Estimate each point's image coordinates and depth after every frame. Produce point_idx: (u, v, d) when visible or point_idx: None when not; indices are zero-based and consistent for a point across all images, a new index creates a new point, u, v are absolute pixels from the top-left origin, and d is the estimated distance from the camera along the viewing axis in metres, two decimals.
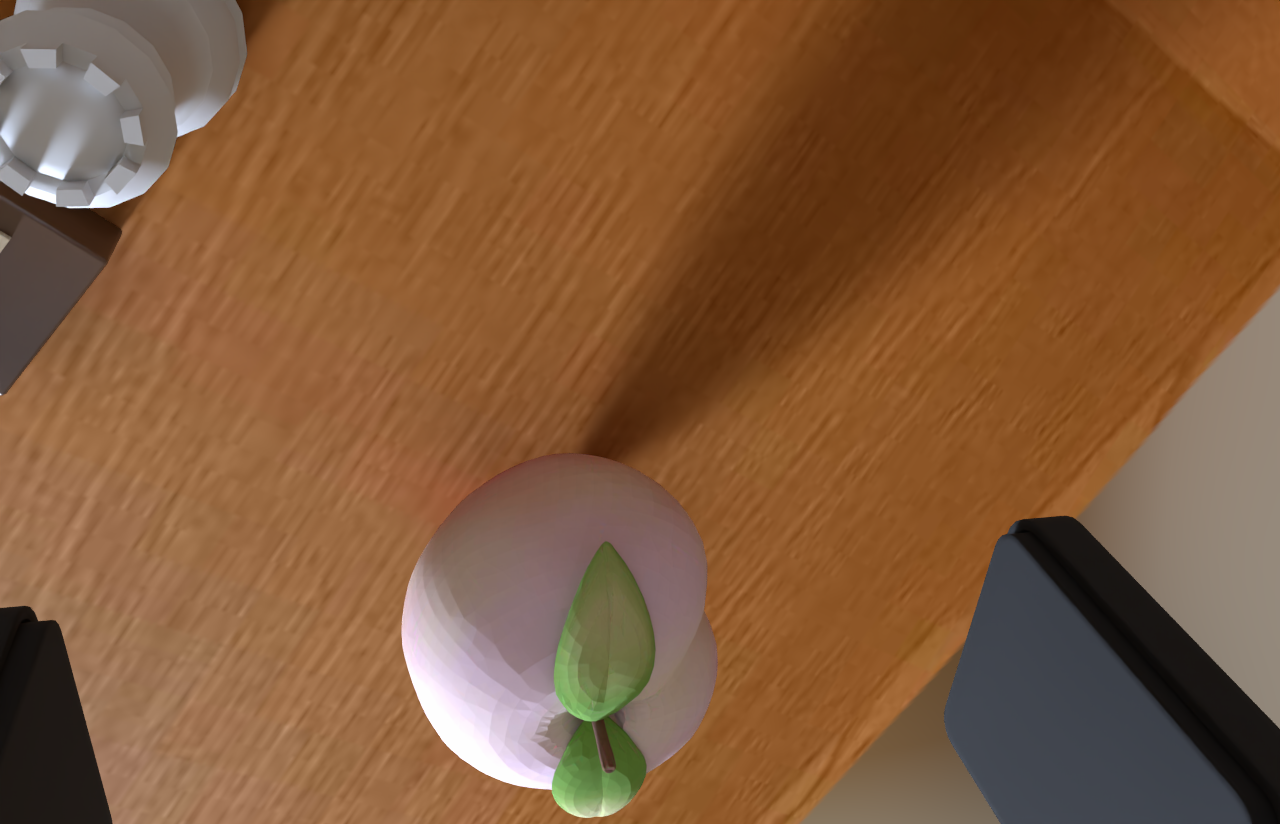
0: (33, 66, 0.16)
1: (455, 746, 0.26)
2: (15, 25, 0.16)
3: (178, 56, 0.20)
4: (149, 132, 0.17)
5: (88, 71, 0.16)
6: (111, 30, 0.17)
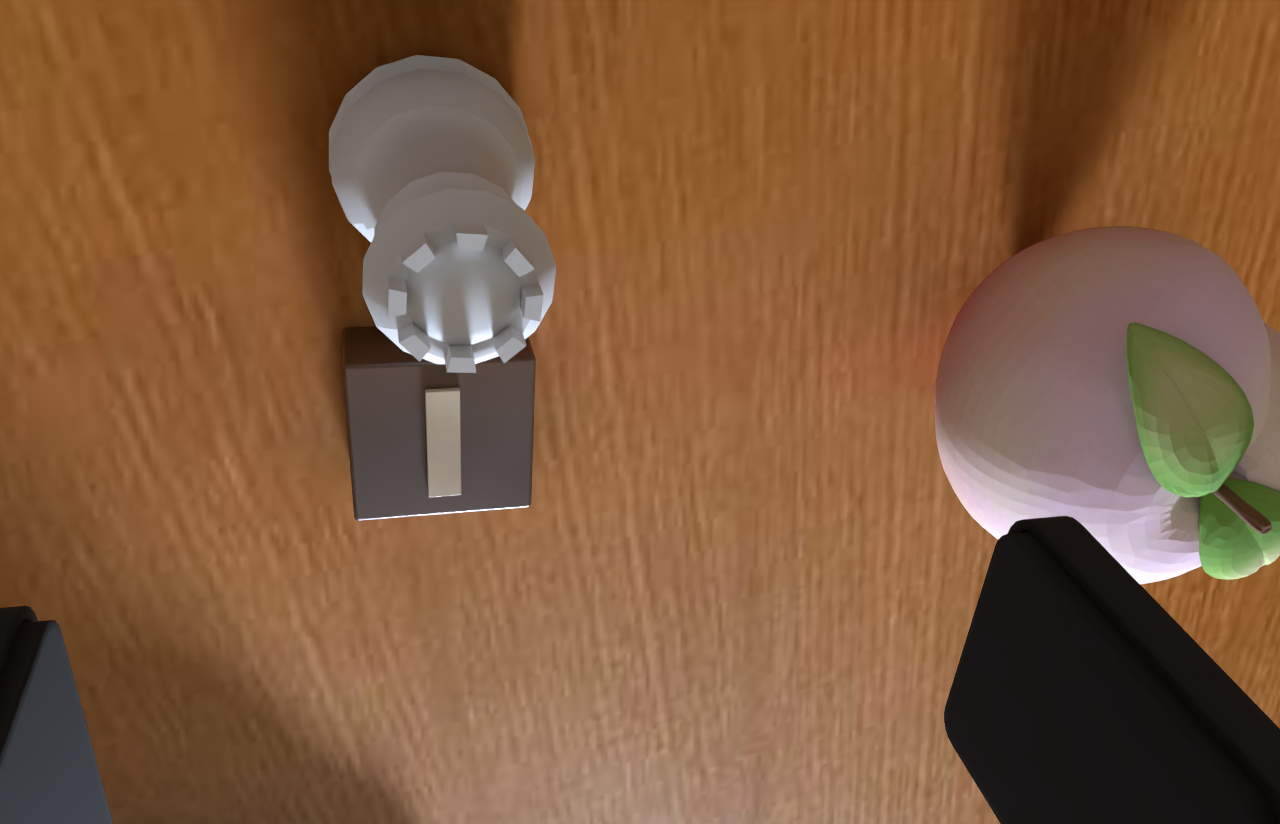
0: (418, 268, 0.17)
1: None
2: (381, 243, 0.17)
3: (487, 161, 0.20)
4: (528, 253, 0.17)
5: (458, 241, 0.16)
6: (447, 192, 0.17)
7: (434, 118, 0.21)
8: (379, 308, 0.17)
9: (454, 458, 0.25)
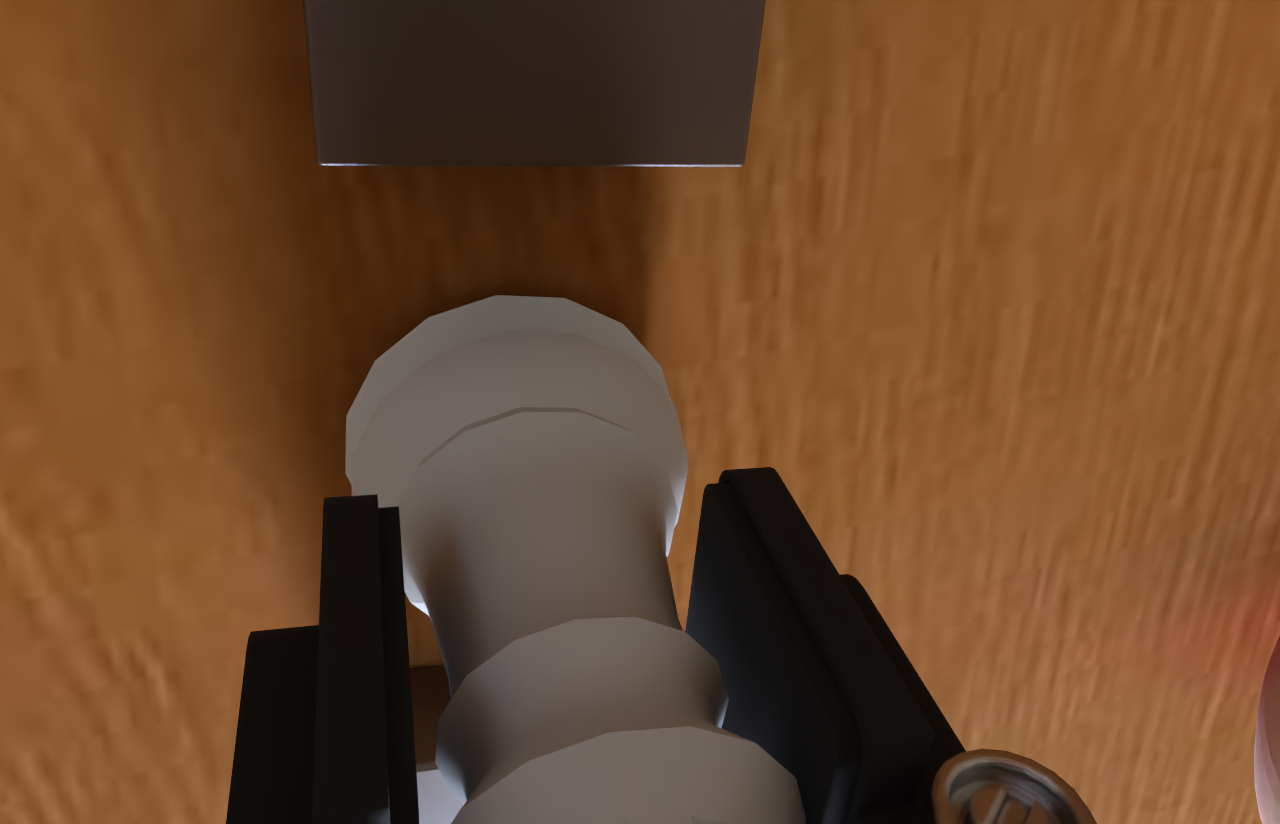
0: None
1: None
2: None
3: (636, 527, 0.11)
4: None
5: None
6: (608, 743, 0.08)
7: (535, 436, 0.12)
8: None
9: None
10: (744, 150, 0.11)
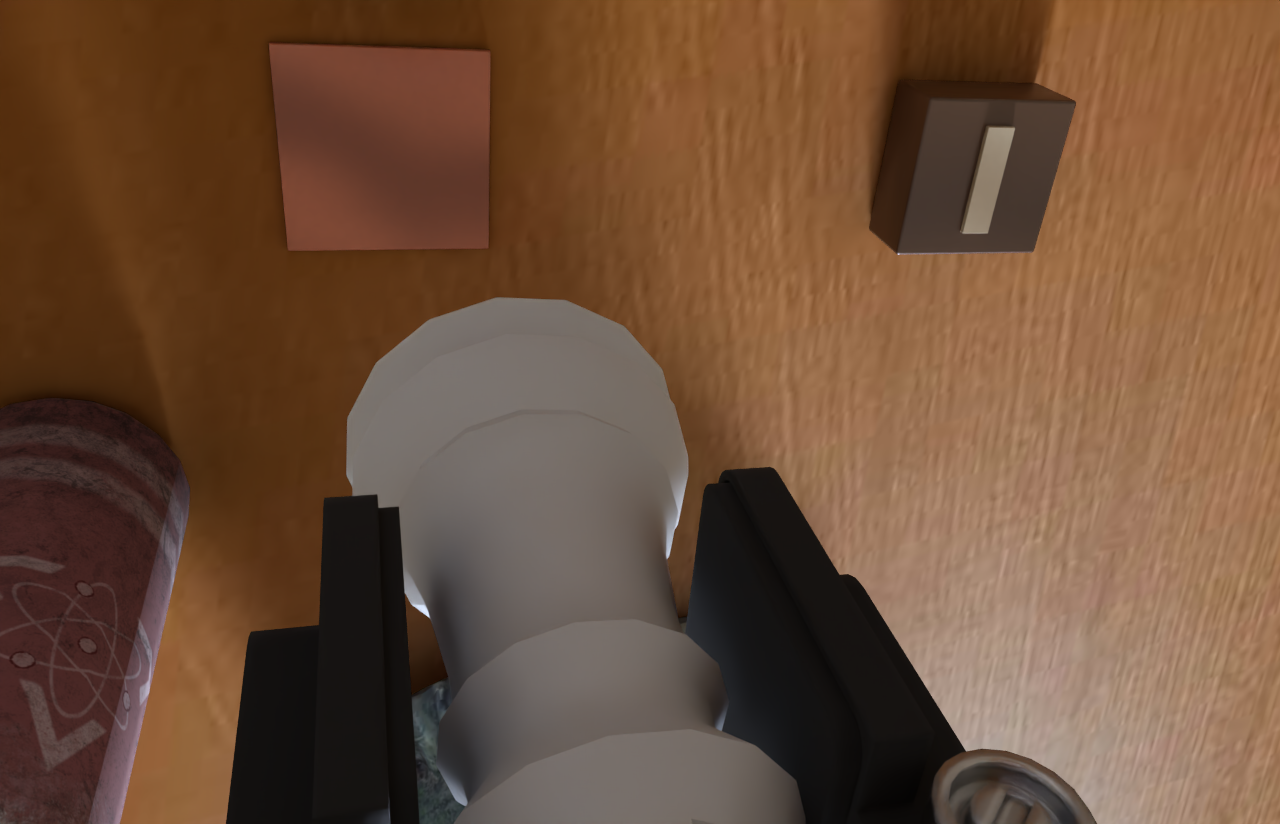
0: None
1: None
2: None
3: (637, 529, 0.11)
4: None
5: None
6: (609, 746, 0.08)
7: (536, 438, 0.12)
8: None
9: (993, 195, 0.29)
10: None
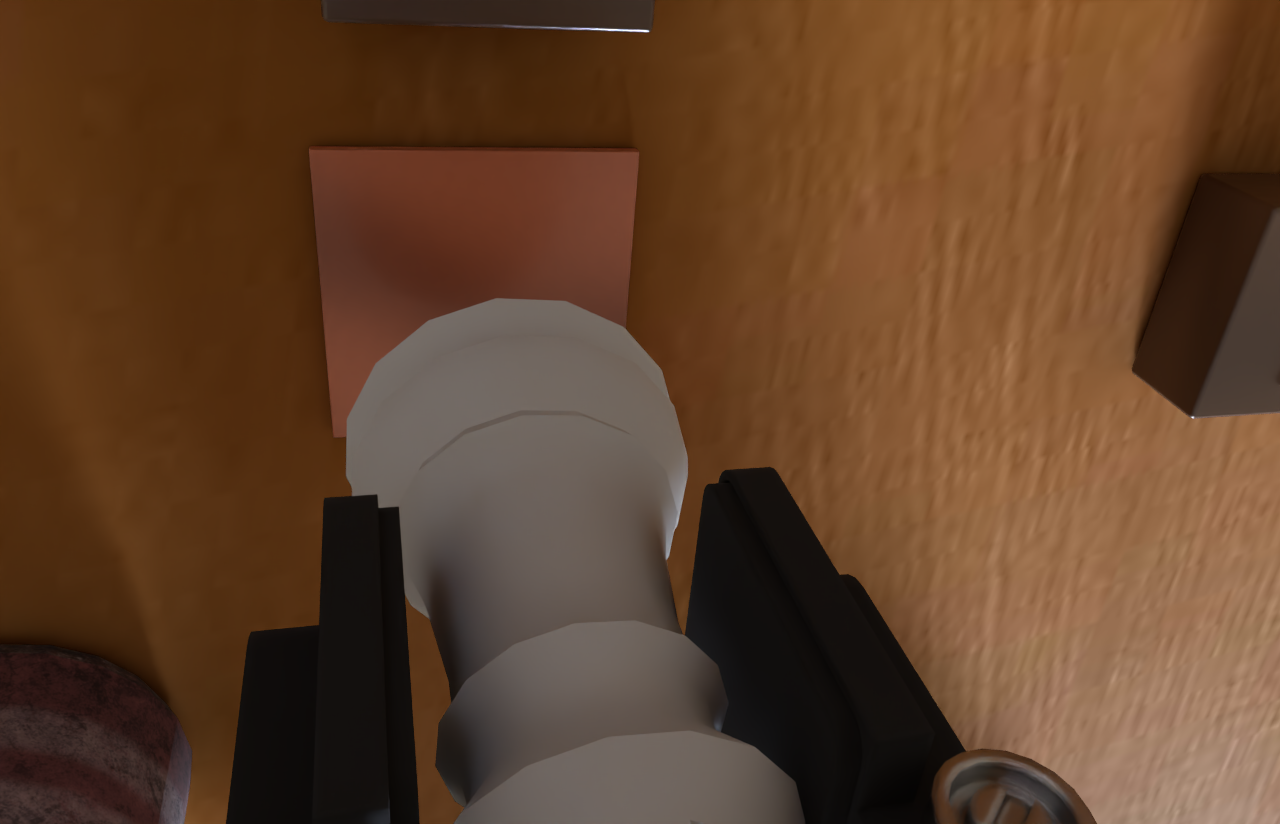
0: None
1: None
2: None
3: (636, 530, 0.11)
4: None
5: None
6: (608, 748, 0.08)
7: (535, 439, 0.12)
8: None
9: None
10: None
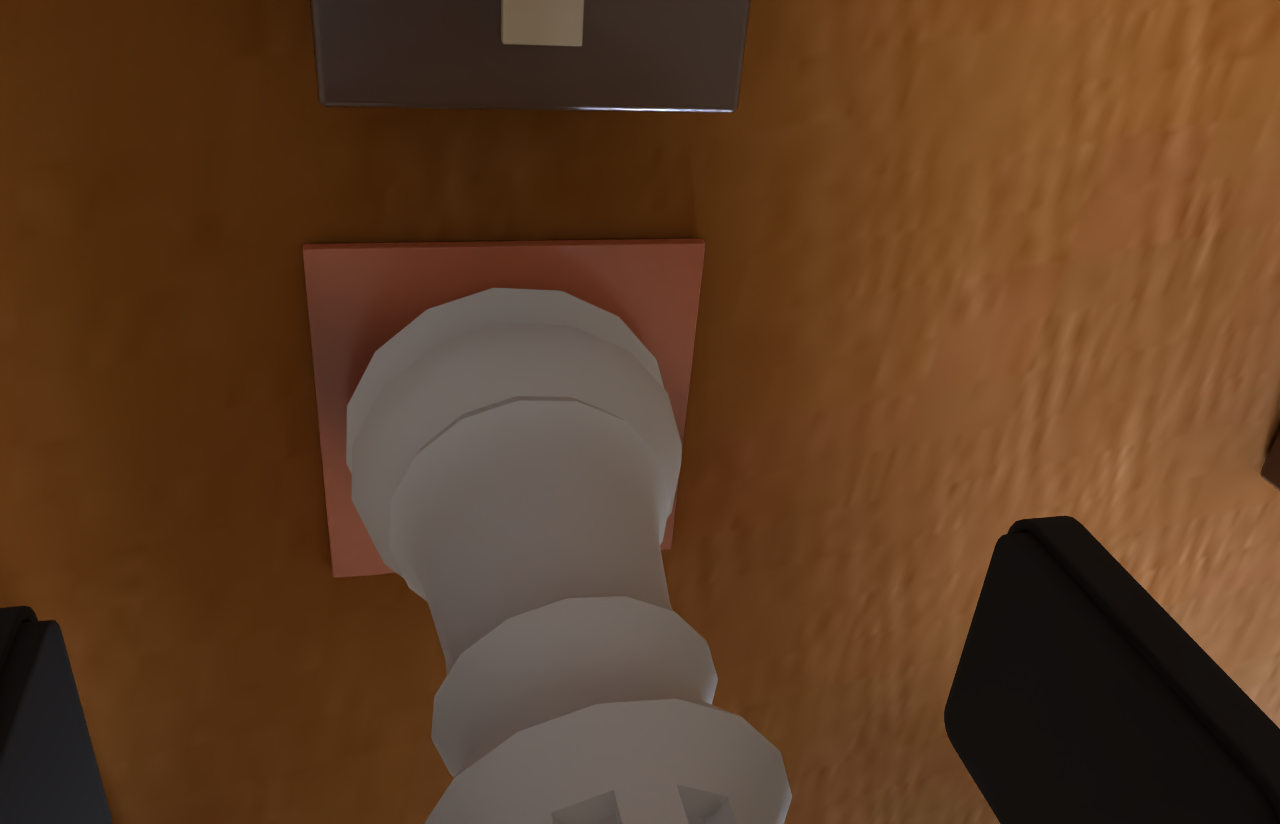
0: None
1: None
2: (458, 814, 0.08)
3: (629, 512, 0.11)
4: (755, 813, 0.08)
5: None
6: (596, 714, 0.08)
7: (531, 424, 0.12)
8: None
9: None
10: None
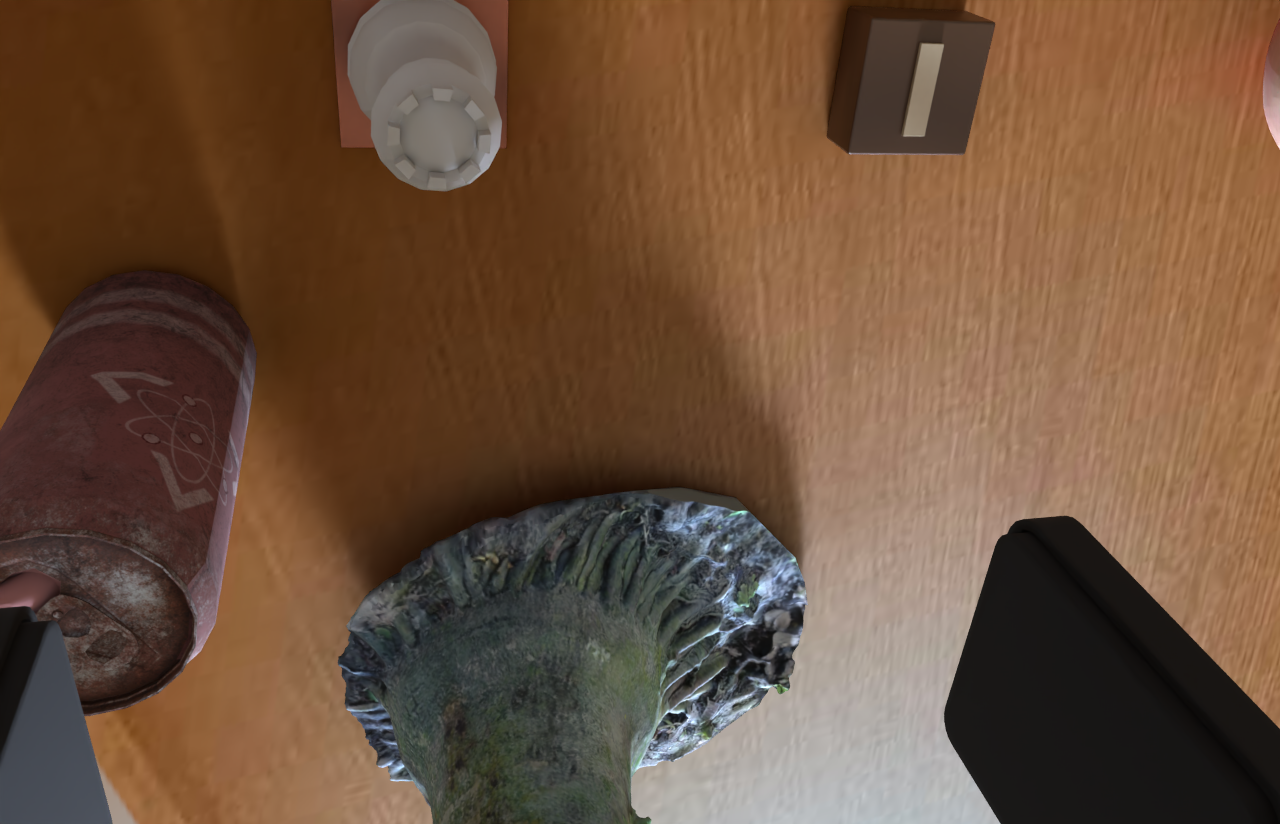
0: (408, 112, 0.25)
1: None
2: (383, 98, 0.26)
3: (458, 59, 0.29)
4: (481, 107, 0.26)
5: (434, 93, 0.25)
6: (427, 64, 0.26)
7: (422, 30, 0.29)
8: (382, 144, 0.26)
9: (927, 102, 0.35)
10: None
